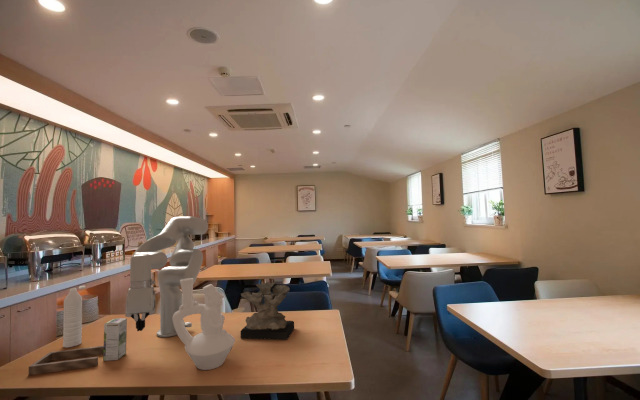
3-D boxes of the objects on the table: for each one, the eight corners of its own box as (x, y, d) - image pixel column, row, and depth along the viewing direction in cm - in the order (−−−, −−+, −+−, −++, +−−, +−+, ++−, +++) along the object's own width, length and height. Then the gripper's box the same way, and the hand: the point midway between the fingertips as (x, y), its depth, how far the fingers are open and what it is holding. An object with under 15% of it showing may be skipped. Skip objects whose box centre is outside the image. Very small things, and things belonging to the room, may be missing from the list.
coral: (233, 338, 136) (232, 290, 137) (251, 322, 155) (251, 280, 157) (286, 341, 131) (284, 291, 132) (298, 324, 151) (297, 281, 152)
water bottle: (71, 348, 131) (72, 290, 132) (58, 347, 132) (60, 289, 133) (90, 340, 139) (90, 285, 141) (78, 339, 140) (79, 285, 142)
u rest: (110, 352, 125) (110, 344, 125) (96, 366, 113) (96, 357, 113) (49, 359, 120) (50, 352, 120) (28, 375, 108) (28, 366, 108)
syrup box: (111, 354, 123) (112, 318, 124) (126, 353, 123) (127, 317, 124) (102, 361, 117) (103, 323, 118) (118, 360, 118) (119, 322, 118)
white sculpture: (230, 374, 104) (228, 280, 106) (164, 379, 102) (164, 284, 104) (238, 351, 122) (237, 271, 124) (183, 355, 119) (182, 274, 121)
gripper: (162, 281, 130) (162, 324, 128) (123, 284, 126) (122, 329, 124) (158, 284, 123) (158, 330, 121) (116, 288, 118) (116, 335, 117)
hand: (140, 329), depth 123 cm, fingers closed
